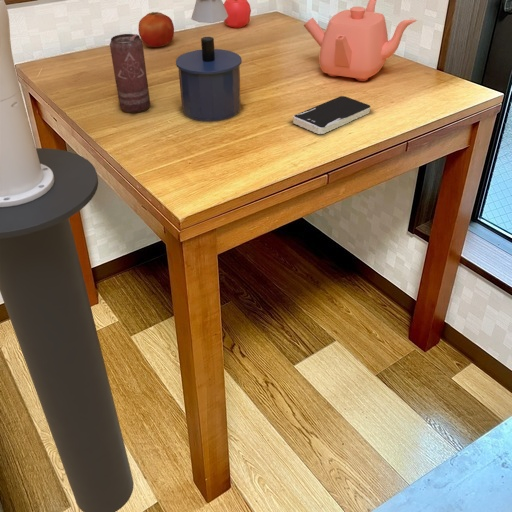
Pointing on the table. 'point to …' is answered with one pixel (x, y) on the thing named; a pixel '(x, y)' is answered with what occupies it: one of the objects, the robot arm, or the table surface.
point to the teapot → (355, 42)
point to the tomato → (156, 29)
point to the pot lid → (208, 59)
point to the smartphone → (331, 114)
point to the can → (130, 73)
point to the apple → (237, 13)
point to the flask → (209, 11)
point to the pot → (210, 95)
